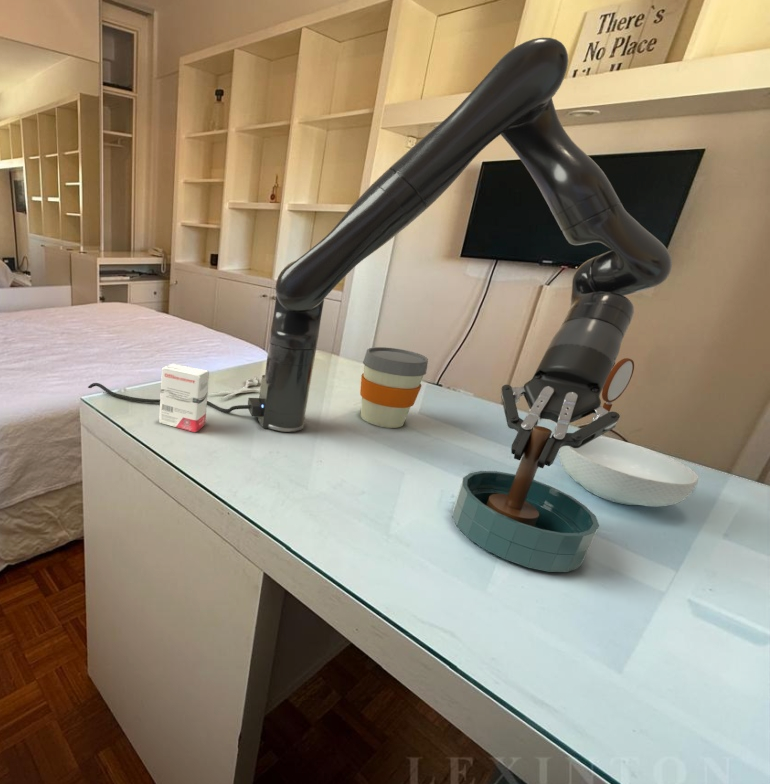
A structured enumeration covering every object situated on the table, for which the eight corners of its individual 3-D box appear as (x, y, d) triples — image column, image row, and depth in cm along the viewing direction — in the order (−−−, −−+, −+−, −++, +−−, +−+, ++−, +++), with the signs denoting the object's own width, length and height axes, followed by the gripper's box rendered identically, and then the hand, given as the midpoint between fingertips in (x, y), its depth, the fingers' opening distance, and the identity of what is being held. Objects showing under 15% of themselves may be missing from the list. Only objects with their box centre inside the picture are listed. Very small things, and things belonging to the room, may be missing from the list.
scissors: (286, 388, 114) (227, 402, 102) (285, 391, 114) (227, 406, 102) (255, 376, 122) (198, 388, 110) (255, 379, 122) (197, 391, 110)
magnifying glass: (592, 448, 93) (632, 355, 86) (602, 452, 92) (643, 358, 85) (570, 455, 90) (610, 358, 83) (581, 460, 88) (622, 361, 81)
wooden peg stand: (504, 530, 62) (539, 438, 57) (475, 504, 68) (505, 418, 63) (545, 531, 62) (583, 440, 57) (513, 505, 68) (546, 420, 63)
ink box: (206, 424, 93) (210, 369, 89) (195, 433, 88) (200, 376, 84) (169, 415, 96) (172, 361, 92) (157, 423, 92) (160, 367, 88)
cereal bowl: (653, 534, 66) (674, 492, 64) (530, 478, 80) (543, 442, 78) (697, 507, 74) (717, 470, 72) (577, 460, 88) (591, 427, 85)
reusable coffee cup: (423, 424, 100) (441, 359, 95) (390, 436, 93) (408, 366, 88) (373, 405, 109) (387, 344, 104) (340, 414, 103) (353, 350, 97)
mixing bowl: (499, 574, 56) (514, 534, 54) (430, 503, 70) (440, 469, 68) (612, 575, 57) (632, 536, 55) (522, 505, 71) (535, 472, 69)
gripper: (521, 332, 66) (470, 429, 62) (652, 355, 56) (601, 472, 53) (518, 361, 71) (471, 453, 67) (637, 387, 62) (590, 495, 58)
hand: (528, 460), depth 60 cm, fingers closed on wooden peg stand
